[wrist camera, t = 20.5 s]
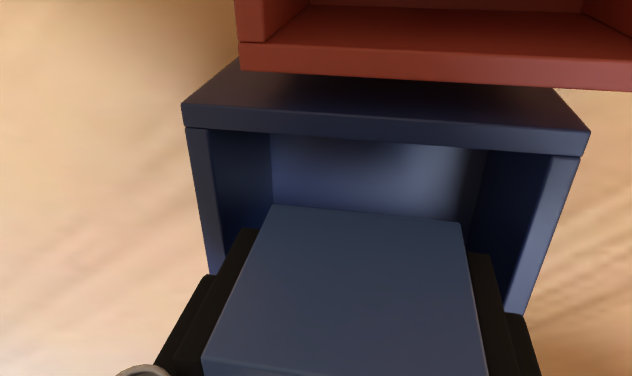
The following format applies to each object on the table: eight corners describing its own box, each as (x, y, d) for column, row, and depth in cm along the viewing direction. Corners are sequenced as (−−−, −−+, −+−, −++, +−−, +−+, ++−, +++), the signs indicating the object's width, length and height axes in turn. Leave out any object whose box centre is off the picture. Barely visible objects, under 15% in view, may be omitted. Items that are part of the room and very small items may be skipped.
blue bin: (251, 44, 14) (179, 102, 10) (526, 57, 13) (592, 131, 8) (266, 247, 19) (222, 352, 14) (471, 271, 18) (495, 394, 13)
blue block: (271, 202, 10) (198, 358, 7) (460, 221, 10) (495, 404, 6) (279, 327, 13) (228, 494, 9) (432, 349, 12) (445, 537, 8)
